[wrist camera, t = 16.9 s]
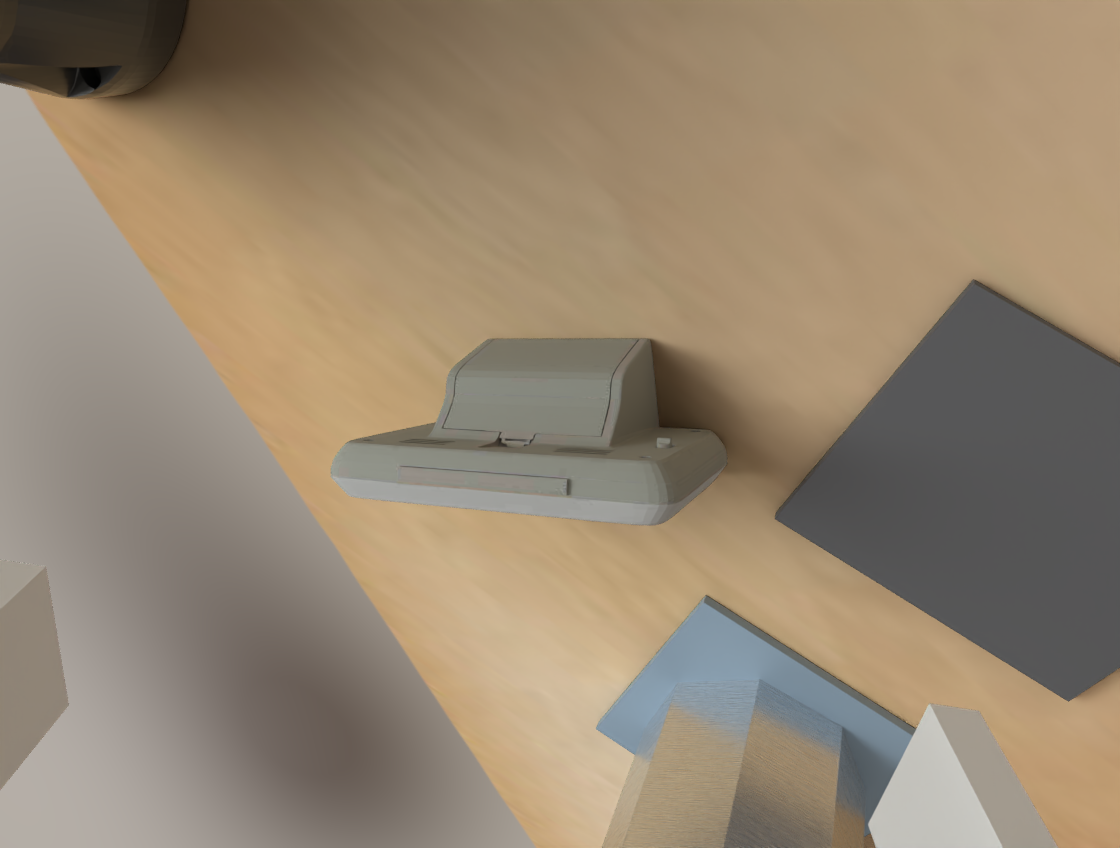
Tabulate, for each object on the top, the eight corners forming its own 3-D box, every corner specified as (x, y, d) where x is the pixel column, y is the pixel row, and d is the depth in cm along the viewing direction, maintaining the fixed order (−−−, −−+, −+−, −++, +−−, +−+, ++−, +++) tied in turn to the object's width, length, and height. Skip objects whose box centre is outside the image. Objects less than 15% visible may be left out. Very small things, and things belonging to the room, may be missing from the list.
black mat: (776, 512, 38) (774, 518, 38) (973, 279, 30) (974, 284, 30) (1066, 692, 37) (1068, 701, 36) (1354, 498, 29) (1361, 507, 28)
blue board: (598, 721, 50) (595, 728, 50) (705, 595, 42) (703, 602, 42) (812, 863, 49) (811, 872, 48) (964, 760, 41) (965, 769, 40)
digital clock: (443, 443, 45) (330, 551, 36) (437, 295, 40) (307, 378, 31) (720, 514, 40) (668, 659, 31) (749, 355, 35) (698, 472, 27)
